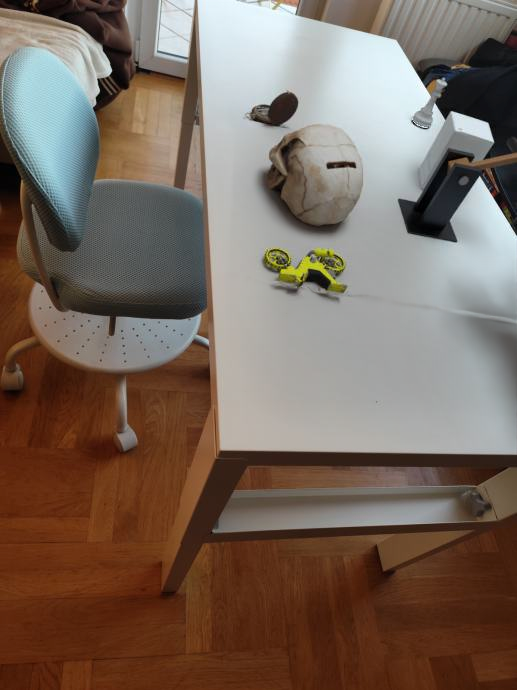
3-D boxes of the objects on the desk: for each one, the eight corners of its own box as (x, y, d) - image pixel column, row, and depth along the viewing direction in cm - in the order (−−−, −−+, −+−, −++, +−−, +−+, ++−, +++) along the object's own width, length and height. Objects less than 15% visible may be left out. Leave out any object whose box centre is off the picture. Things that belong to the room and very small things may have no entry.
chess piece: (413, 126, 106) (437, 80, 98) (409, 116, 109) (432, 70, 101) (431, 131, 107) (456, 85, 99) (427, 120, 109) (451, 75, 102)
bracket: (441, 213, 87) (482, 149, 78) (453, 247, 82) (500, 182, 72) (395, 204, 86) (431, 137, 76) (405, 237, 80) (445, 170, 70)
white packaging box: (454, 205, 90) (495, 143, 80) (417, 193, 90) (454, 129, 80) (451, 183, 95) (489, 122, 85) (415, 171, 94) (450, 109, 85)
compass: (270, 108, 96) (280, 70, 90) (292, 130, 93) (303, 93, 87) (236, 111, 92) (244, 72, 87) (258, 134, 89) (267, 95, 83)
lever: (514, 146, 77) (516, 132, 75) (534, 179, 72) (537, 165, 70) (442, 162, 79) (442, 149, 77) (456, 195, 74) (457, 182, 72)
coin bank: (285, 155, 86) (314, 85, 76) (361, 214, 84) (402, 150, 73) (231, 190, 78) (255, 116, 67) (315, 257, 75) (354, 192, 65)
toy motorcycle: (346, 244, 69) (358, 281, 65) (337, 263, 72) (348, 299, 68) (266, 237, 66) (273, 275, 62) (259, 257, 69) (266, 295, 65)
